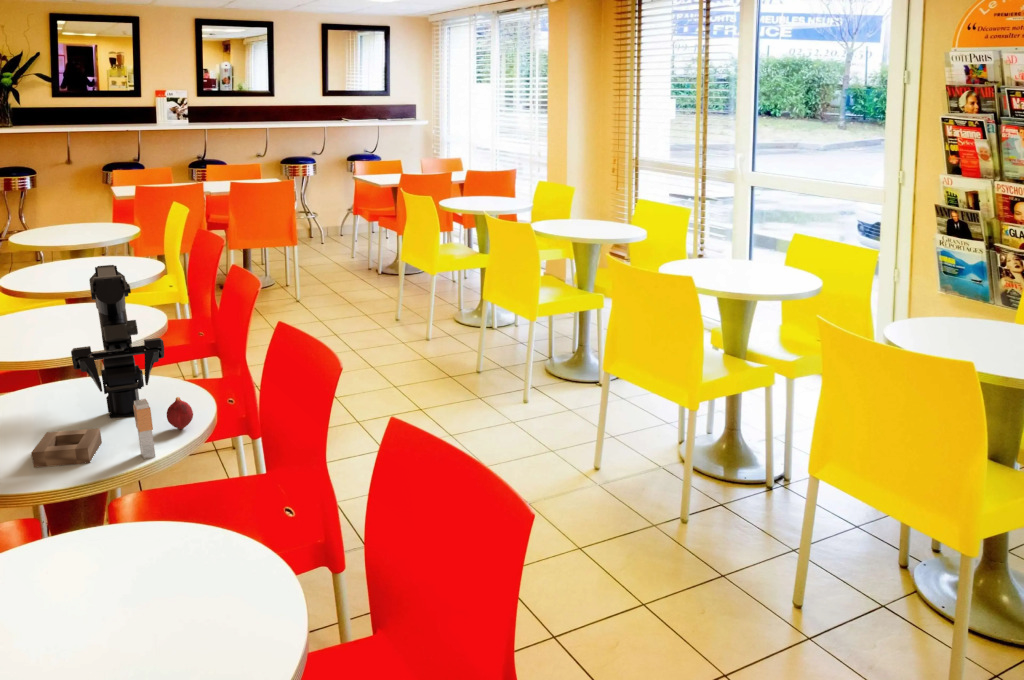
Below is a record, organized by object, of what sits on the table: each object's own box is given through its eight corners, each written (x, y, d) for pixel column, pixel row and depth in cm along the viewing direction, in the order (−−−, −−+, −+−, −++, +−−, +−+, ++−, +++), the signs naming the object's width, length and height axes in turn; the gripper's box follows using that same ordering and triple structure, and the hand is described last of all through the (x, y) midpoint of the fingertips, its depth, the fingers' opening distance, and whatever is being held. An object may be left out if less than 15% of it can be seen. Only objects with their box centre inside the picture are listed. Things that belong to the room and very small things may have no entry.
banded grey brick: (139, 453, 187) (132, 400, 184) (153, 451, 189) (146, 398, 185) (142, 460, 184) (135, 406, 180) (156, 457, 186) (149, 403, 182)
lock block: (101, 442, 193) (99, 428, 192) (89, 462, 183) (87, 447, 182) (49, 446, 191) (46, 432, 190) (33, 467, 180) (31, 452, 179)
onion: (199, 429, 201) (195, 397, 198) (175, 436, 197) (171, 403, 194) (187, 422, 204) (183, 391, 202) (164, 429, 200) (160, 397, 198)
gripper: (65, 313, 182) (73, 379, 176) (158, 303, 190) (169, 366, 185) (69, 337, 191) (78, 400, 186) (158, 326, 199) (169, 386, 194)
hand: (124, 387), depth 187 cm, fingers open, 9 cm apart
